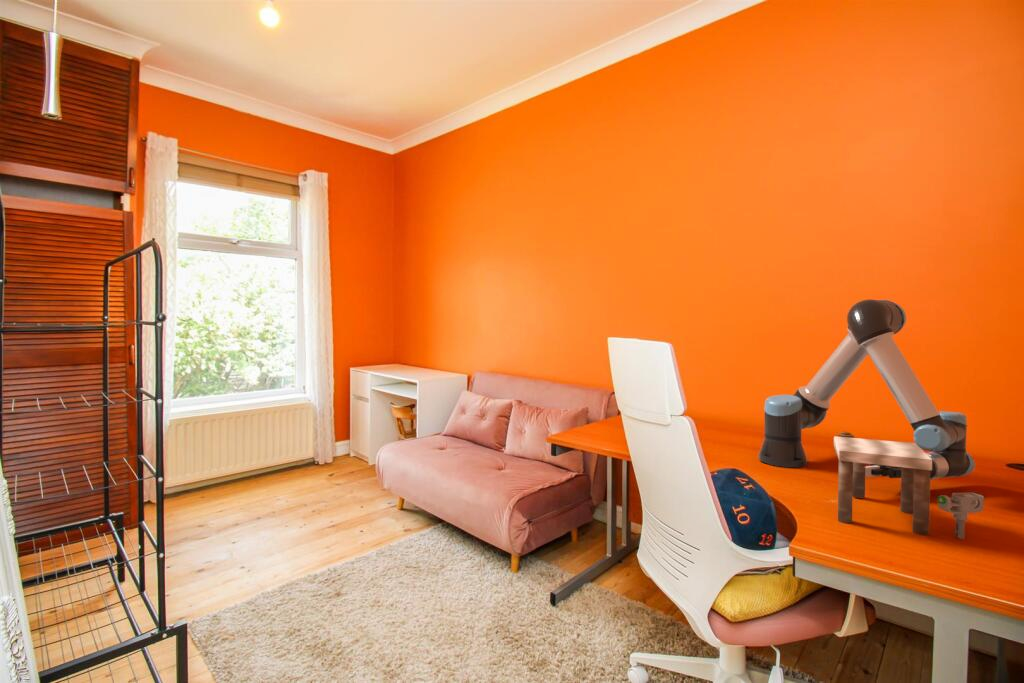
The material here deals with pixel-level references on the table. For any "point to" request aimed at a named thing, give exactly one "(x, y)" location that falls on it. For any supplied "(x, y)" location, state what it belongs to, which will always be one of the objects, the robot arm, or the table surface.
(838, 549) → the table surface
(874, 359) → the robot arm
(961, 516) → the mechanical component
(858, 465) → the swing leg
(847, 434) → the ornamental finial
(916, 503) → the stool
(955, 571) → the table surface
